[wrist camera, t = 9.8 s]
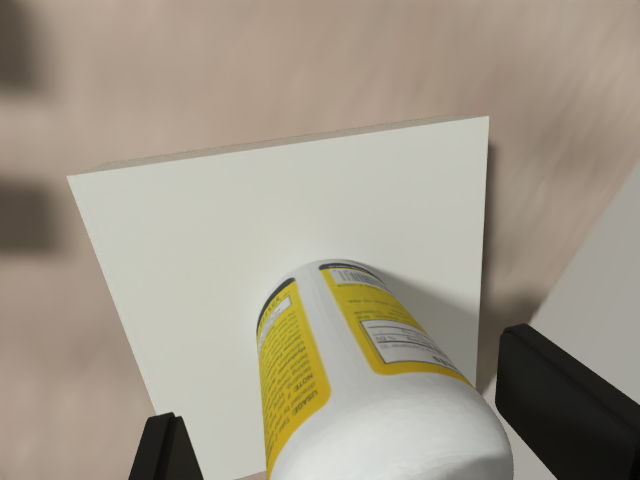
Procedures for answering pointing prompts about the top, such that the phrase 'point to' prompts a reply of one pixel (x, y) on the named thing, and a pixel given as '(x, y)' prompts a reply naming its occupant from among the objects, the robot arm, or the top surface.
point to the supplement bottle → (365, 387)
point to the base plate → (281, 255)
